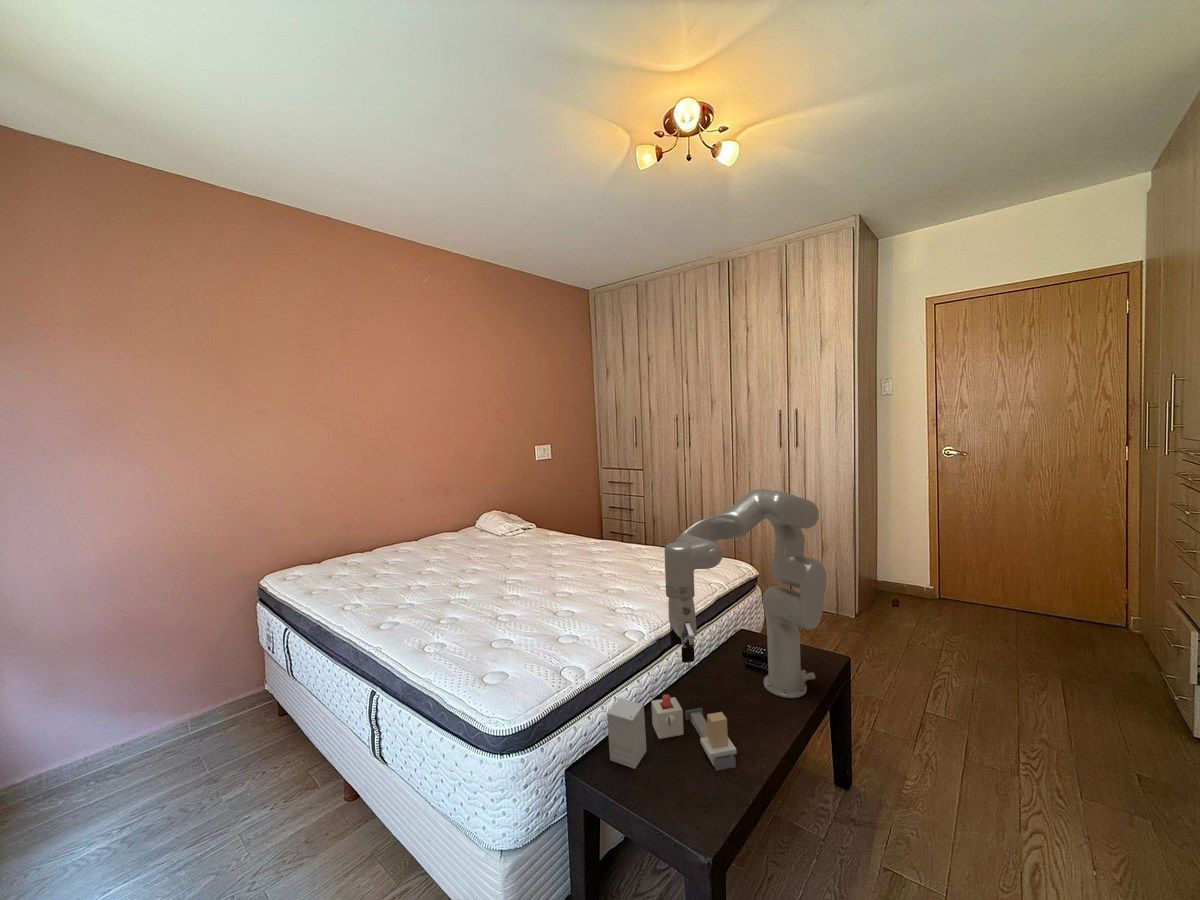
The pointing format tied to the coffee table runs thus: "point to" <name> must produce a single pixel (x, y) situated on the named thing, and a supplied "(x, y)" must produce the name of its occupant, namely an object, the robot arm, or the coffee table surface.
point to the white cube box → (667, 719)
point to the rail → (702, 730)
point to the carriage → (717, 738)
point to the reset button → (666, 701)
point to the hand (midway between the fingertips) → (682, 652)
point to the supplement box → (626, 732)
